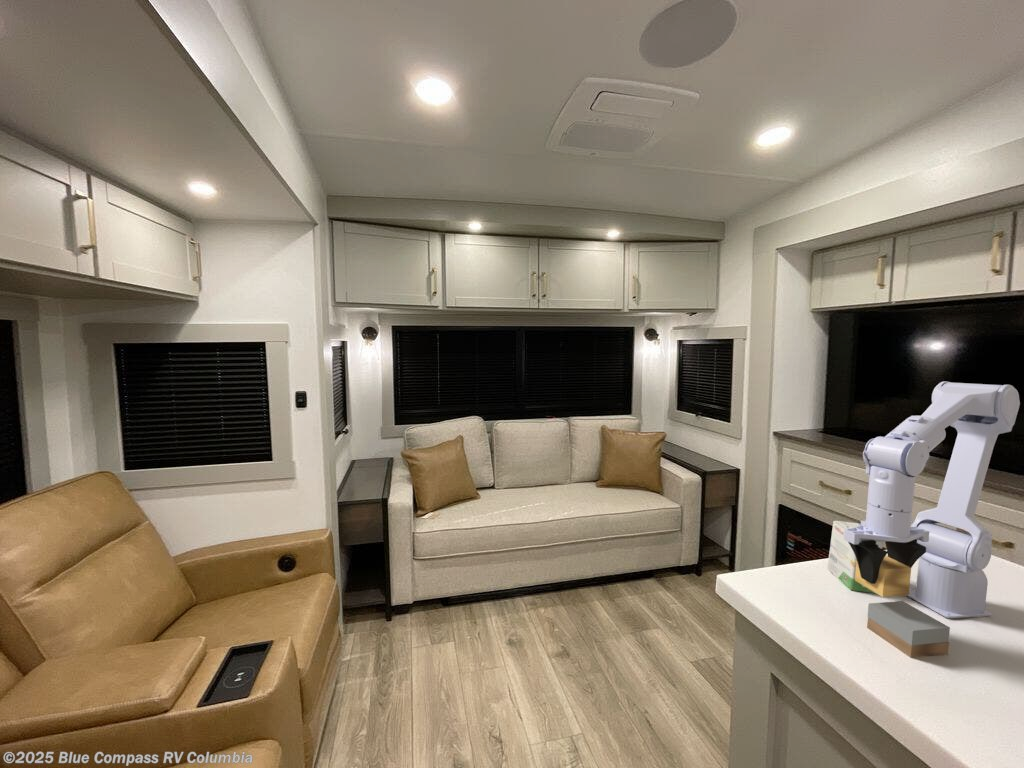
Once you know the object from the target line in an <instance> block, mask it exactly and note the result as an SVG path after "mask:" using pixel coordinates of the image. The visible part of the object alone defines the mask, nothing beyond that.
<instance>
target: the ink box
mask: <svg viewBox="0 0 1024 768" xmlns="http://www.w3.org/2000/svg"><path fill="white" fill-rule="evenodd" d="M860 525H861V523H857V522H850V521H841V520H833V521H832V530H831V538H830V544H829V545H830V546H829V552H828V553H829V554H828V559H827V560H828V561H827V568H828V569H829V570H830V571H831V572H832V573H834V574H835V575H836V576H837V577H838V578H839V579H840V580H841V581H842V582H843V583H842V582H841V581H840V580H839V579H838V578H837V577H836V576H835V575H834V574H833V575H834V576H835V577H836V578H837V579H838V580H839V581H840V582H841V583H842V584H843V585H845V587H847V588H848V589H849V590H850V591H855V592H864V593H871V594H876V593H875V592H873V591H872V590H870V589H868V588H867V587H865V586H863V585H862V584H860V583H858V582H857V581H855V571H856V556H855V554H854V552H853V550H852V548H851V546H850V544H849V543H848V541H846V540H844V529H850V528H854V527H857V526H860ZM883 544H884V541H883V542H876V545H878V547H879V548H881V549H883V546H884V545H883ZM828 569H827V570H828ZM829 570H828V571H829ZM830 571H829V572H830ZM831 572H830V573H831ZM832 573H831V574H832Z"/></svg>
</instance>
